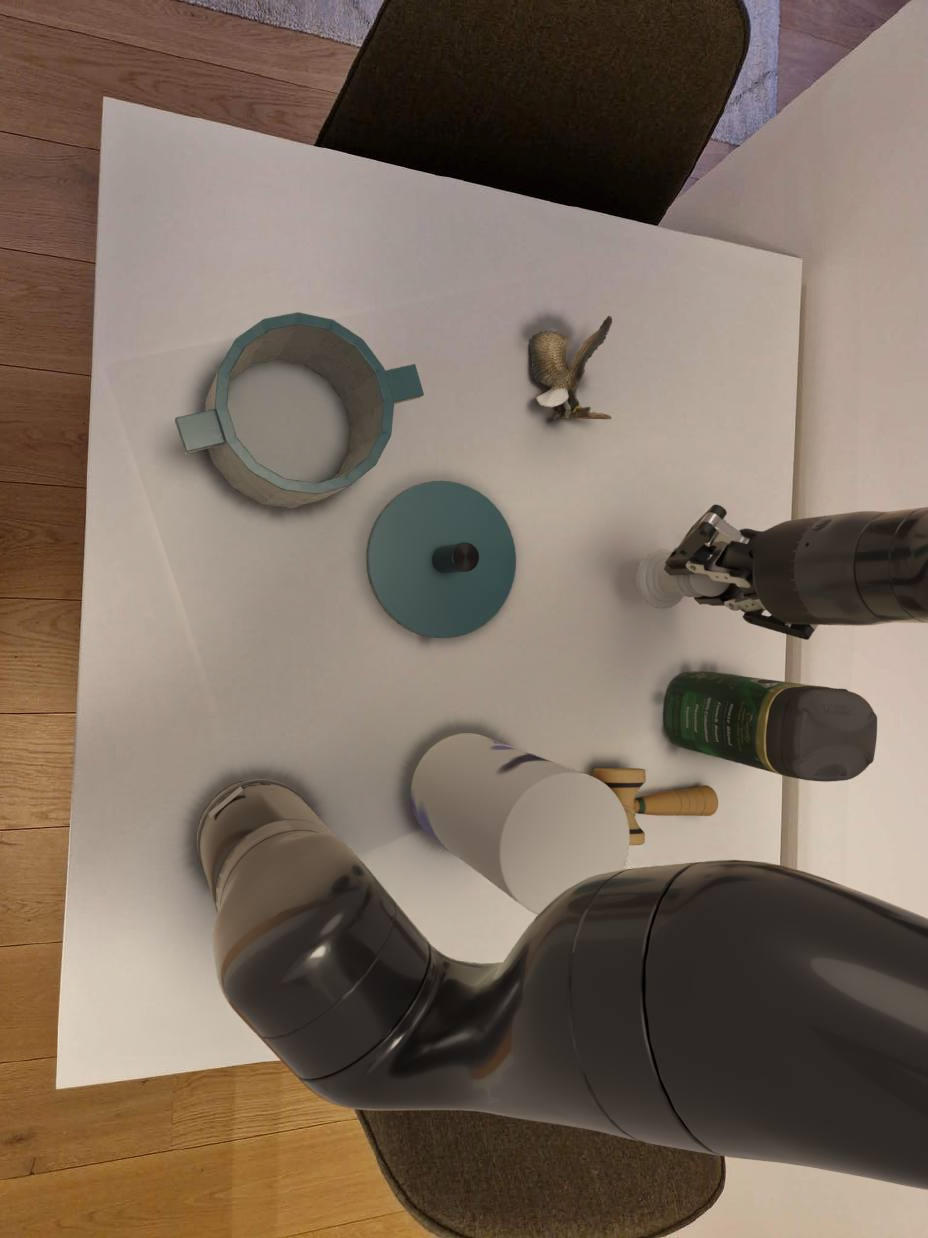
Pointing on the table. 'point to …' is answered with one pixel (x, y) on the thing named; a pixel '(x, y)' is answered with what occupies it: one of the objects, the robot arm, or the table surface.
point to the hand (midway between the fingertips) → (687, 577)
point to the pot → (332, 358)
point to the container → (519, 817)
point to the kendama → (654, 798)
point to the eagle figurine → (564, 370)
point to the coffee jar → (772, 724)
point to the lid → (441, 559)
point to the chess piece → (671, 582)
